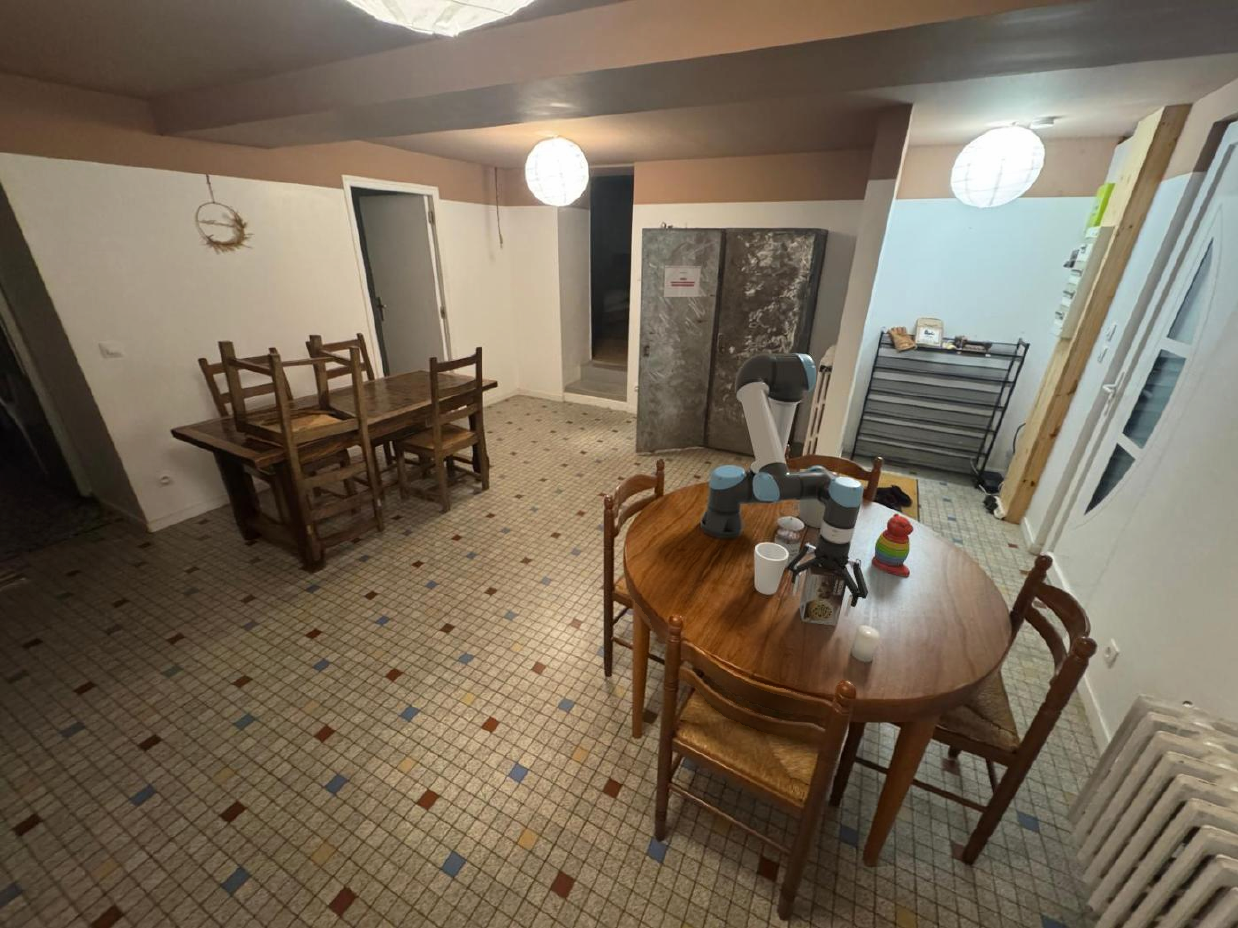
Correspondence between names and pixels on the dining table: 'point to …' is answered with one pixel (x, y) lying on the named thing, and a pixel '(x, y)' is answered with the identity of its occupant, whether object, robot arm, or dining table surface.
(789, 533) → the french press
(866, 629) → the white cylinder
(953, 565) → the dining table surface
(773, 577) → the foam cup
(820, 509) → the canister
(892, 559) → the stacking bear
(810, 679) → the dining table surface
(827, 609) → the coffee box
